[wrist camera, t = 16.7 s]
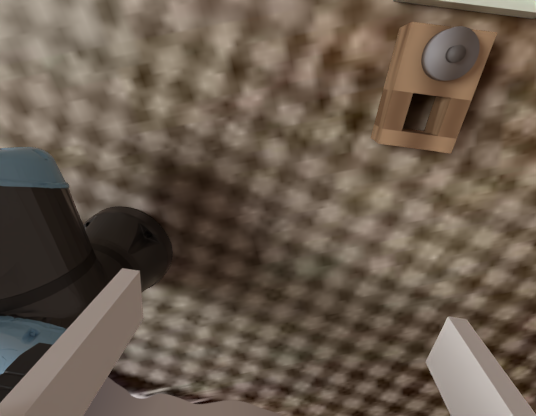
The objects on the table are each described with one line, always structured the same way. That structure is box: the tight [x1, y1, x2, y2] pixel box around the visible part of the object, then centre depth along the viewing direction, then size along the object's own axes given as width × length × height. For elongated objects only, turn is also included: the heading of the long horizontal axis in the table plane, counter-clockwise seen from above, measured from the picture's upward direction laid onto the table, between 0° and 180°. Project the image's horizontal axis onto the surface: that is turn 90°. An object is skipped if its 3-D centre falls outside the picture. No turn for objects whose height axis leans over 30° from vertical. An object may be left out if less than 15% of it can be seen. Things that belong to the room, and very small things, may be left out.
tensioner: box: [371, 22, 497, 153], centre depth 34 cm, size 9×13×7 cm
